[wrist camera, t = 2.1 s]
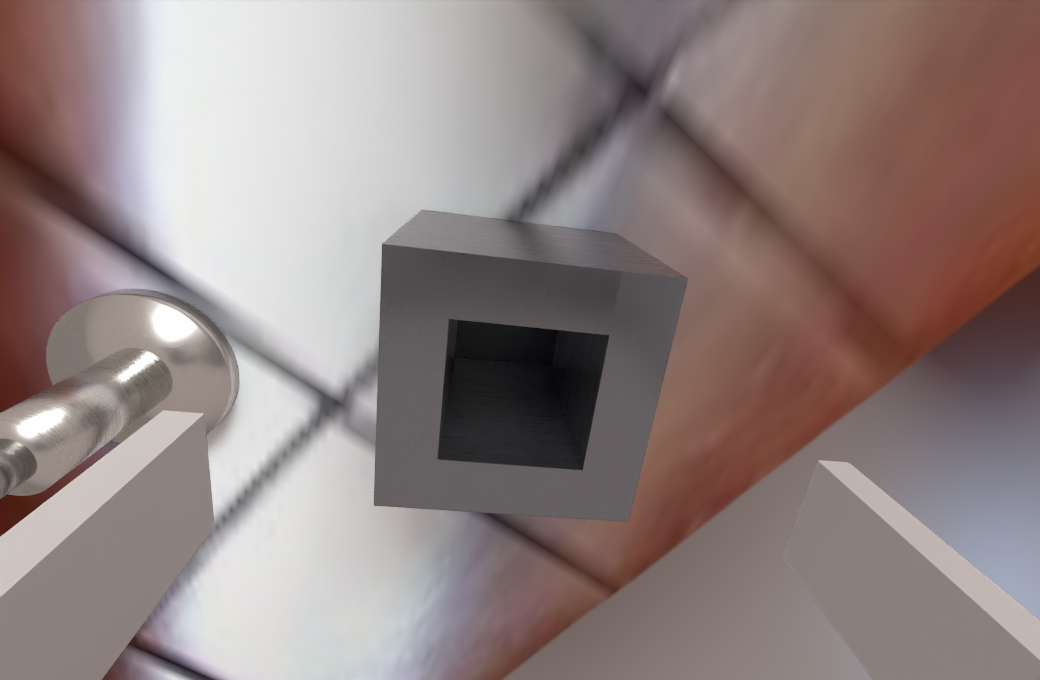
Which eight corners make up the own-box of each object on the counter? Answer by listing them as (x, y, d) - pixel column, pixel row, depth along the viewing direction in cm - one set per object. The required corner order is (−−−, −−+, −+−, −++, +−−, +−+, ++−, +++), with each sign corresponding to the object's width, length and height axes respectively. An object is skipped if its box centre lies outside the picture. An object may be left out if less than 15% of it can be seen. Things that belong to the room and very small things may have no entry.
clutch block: (421, 210, 20) (382, 243, 13) (616, 233, 21) (687, 278, 13) (411, 389, 23) (374, 505, 15) (583, 404, 24) (628, 521, 16)
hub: (51, 279, 20) (-234, 362, 12) (233, 298, 21) (76, 387, 13) (81, 431, 23) (-142, 583, 15) (243, 443, 23) (116, 594, 15)
